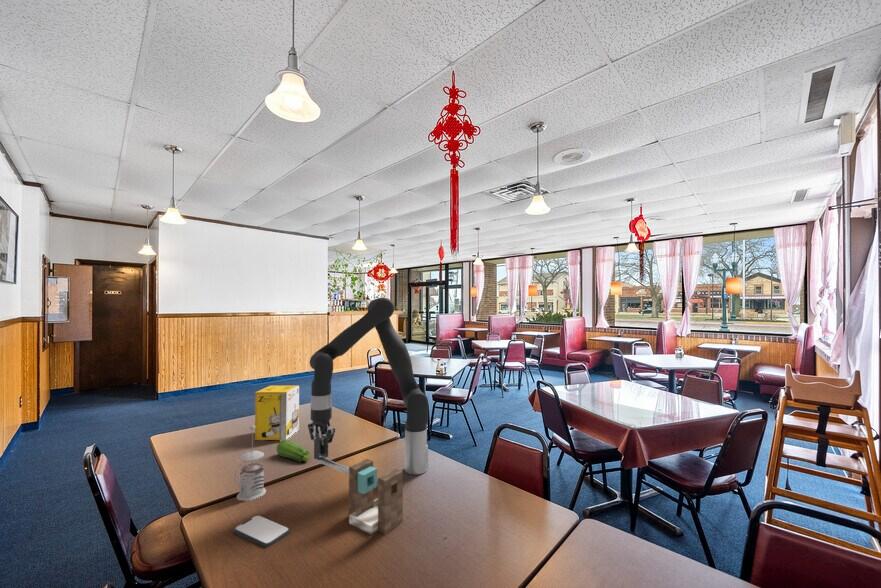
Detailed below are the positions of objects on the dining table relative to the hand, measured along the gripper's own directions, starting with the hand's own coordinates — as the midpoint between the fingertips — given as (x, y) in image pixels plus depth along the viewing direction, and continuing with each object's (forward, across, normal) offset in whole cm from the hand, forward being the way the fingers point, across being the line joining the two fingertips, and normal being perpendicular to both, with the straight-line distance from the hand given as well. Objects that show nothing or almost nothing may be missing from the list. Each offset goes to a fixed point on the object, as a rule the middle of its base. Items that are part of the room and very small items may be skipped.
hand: (321, 453), depth 135 cm
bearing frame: (+15, -28, 0) cm, 31 cm away
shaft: (+4, -11, 0) cm, 12 cm away
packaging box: (+15, +70, -24) cm, 76 cm away
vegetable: (+15, +36, -12) cm, 41 cm away
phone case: (+15, -5, +25) cm, 30 cm away
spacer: (+6, -25, 0) cm, 26 cm away
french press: (+15, +20, +16) cm, 30 cm away
